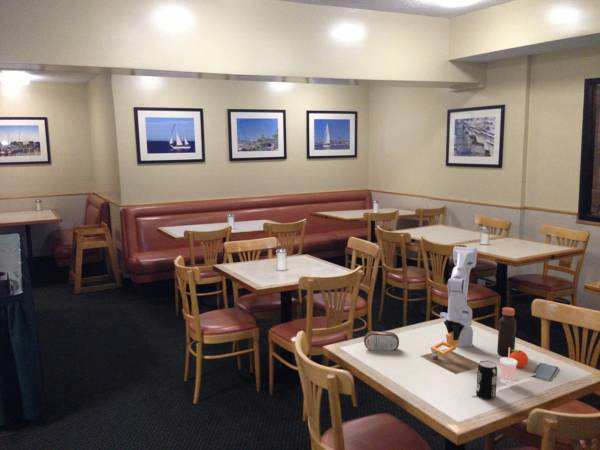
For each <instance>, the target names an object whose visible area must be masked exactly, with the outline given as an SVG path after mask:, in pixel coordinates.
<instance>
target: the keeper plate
mask: <svg viewBox="0 0 600 450" xmlns="http://www.w3.org/2000/svg"><path fill="white" fill-rule="evenodd" d="M447 349H448V348H446V349H443V350H442V351H445V350H447ZM419 357H420V358H422V359H425V360H427V362H430V363H432V364H434V365H436V366H439V367H440V368H443V369H444V370H447V371H448V372H450V373H453V374H454V375H458V374H461V373H465V372H468V371H471V370H475V369H478V365H479V362H477V361H475V360H473V359H470V358H469V357H466V356H464V355H462V354H460V353H457V352H455V351H454V350H453V351H451V352H450V353H448V354H446V355H444V356H443V355H441V354H439V353H438V359H437V360H435V359H432V352H431V353H426V354H423V355H419Z"/></svg>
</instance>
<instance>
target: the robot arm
mask: <svg viewBox="0 0 600 450" xmlns="http://www.w3.org/2000/svg"><path fill="white" fill-rule="evenodd" d="M477 258H478V249H477V247H468V246H467V247H466V246H457V245H455V246H454V247H453V250H452V259H453V264H454V267H453V268H452V271H451V276H450V278H449V279H448V280H447V296H448V301H447V305H448V306H447V312H445V311H444V312H440V313H439V318H443V319H445V321H443V323H444V325H445V328H446V330H447V334H448V333H450V332H452V331H453V338H454V340H458V339H459V343H458V344H456V345H454V346H456V348H457V347H458V348H463V347H464V348H465V347H467V346H469V347H474V346H475V344H473V341H474V340H473V339H474V338H473V337H474V330H473V328H472V324H473V309H472V308H471V307H470V306H469V305H467V304H468V292H469V282H470V281H469V280H470V273H471V270H472V269H473V268H475V267H476V265H477V260H478V259H477Z"/></svg>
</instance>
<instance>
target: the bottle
mask: <svg viewBox="0 0 600 450" xmlns="http://www.w3.org/2000/svg"><path fill="white" fill-rule="evenodd" d="M501 310H502V311H501V313H502V314H501V315H502V316H501V317H500V318H499V320H498V335H497V347H496V348H497V350H496V353H497V355H499V356H501V357H508V352H509V347H510V354H511V353H512V352H513V351H511V350H516V348H515V347H516V334H517V320H516V319H515V318H514V317H515V312H516V310H515V308H513V307H509V306H508V307H506V306H505V307H502V309H501Z"/></svg>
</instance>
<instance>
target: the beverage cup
mask: <svg viewBox="0 0 600 450" xmlns="http://www.w3.org/2000/svg"><path fill="white" fill-rule="evenodd" d="M509 357H510V347H509V352H508V357H504V356H502V357H501V358H499V363H500V382H501V383H502V384H504V387H505V386H506V387H512V386H514V383H515V378H516V369H517V367H516V365H517V360H515V359H513V358H509Z"/></svg>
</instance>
